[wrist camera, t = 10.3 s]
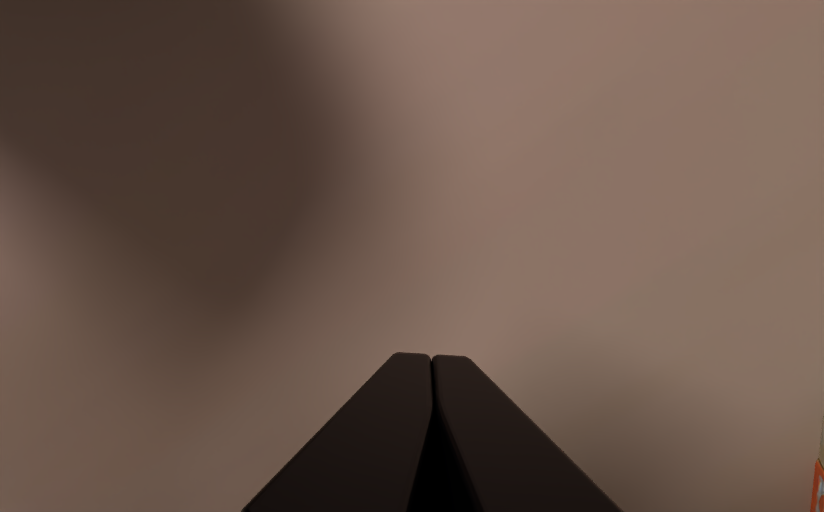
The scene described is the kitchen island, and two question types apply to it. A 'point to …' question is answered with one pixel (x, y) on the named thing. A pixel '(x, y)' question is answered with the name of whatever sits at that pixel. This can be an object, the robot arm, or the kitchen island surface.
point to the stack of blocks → (819, 479)
